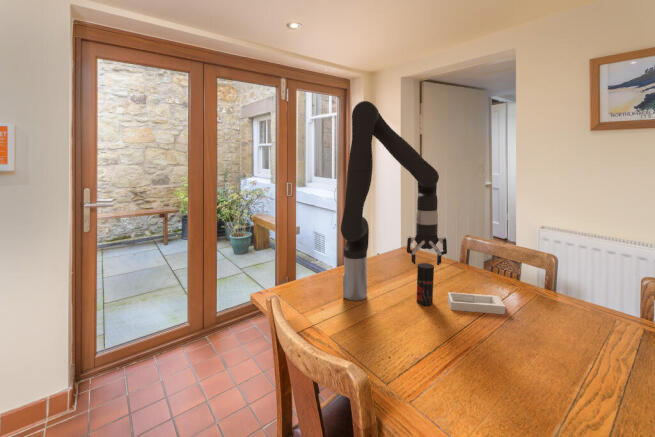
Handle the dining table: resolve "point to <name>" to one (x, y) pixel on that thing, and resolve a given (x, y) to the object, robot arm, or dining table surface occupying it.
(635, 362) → the dining table surface
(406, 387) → the dining table surface
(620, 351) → the dining table surface
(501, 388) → the dining table surface
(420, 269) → the deodorant
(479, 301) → the white rectangular frame
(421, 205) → the robot arm
